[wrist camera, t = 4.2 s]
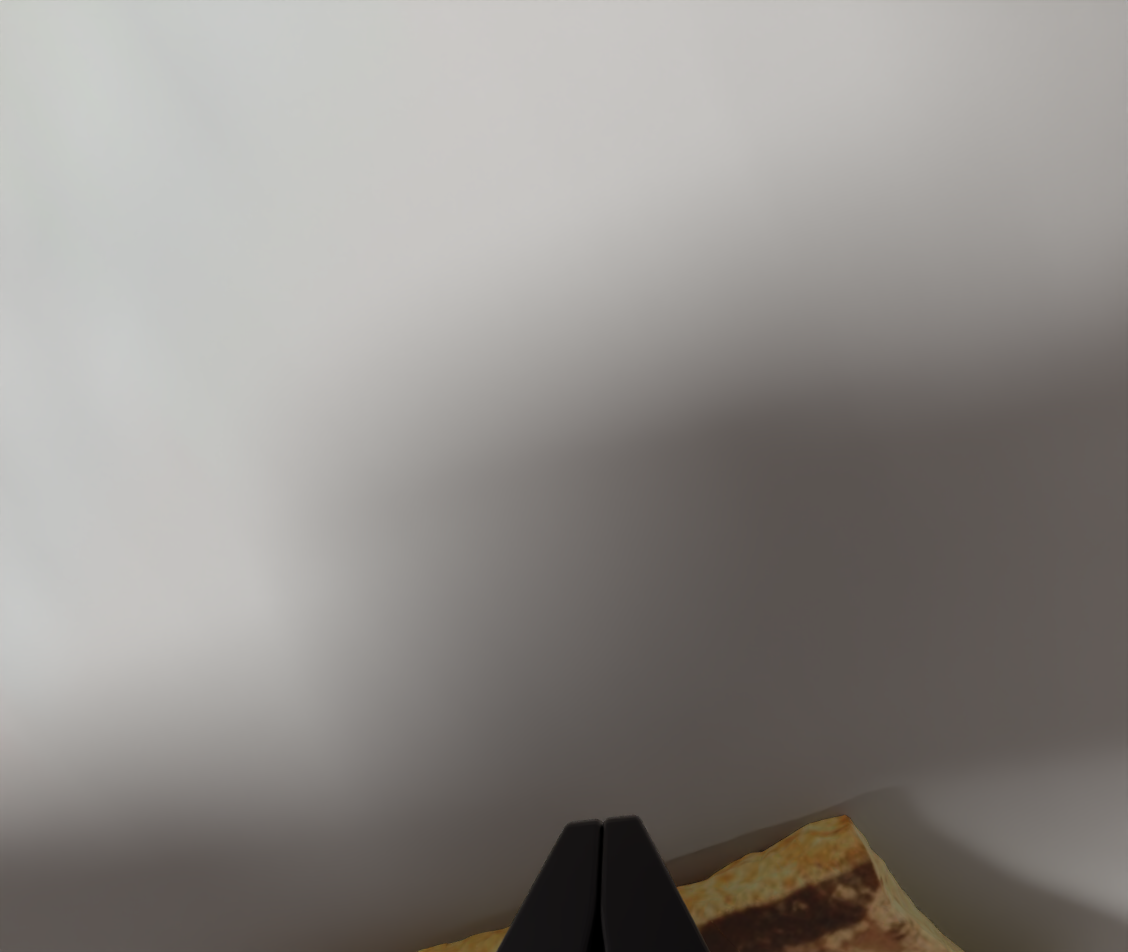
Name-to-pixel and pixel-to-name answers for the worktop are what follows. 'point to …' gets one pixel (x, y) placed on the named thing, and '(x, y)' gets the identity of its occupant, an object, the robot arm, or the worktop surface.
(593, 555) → the worktop surface
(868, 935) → the shard
